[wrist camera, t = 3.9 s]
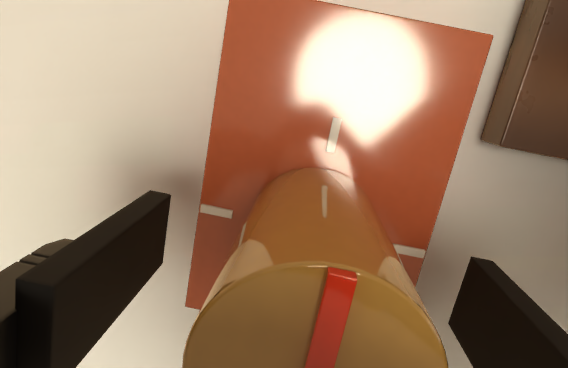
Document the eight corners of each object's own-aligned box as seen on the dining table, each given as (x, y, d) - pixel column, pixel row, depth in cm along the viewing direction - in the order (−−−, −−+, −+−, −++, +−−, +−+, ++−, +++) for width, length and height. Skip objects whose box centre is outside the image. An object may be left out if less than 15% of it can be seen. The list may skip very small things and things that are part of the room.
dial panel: (384, 314, 21) (396, 353, 18) (202, 276, 21) (183, 308, 18) (464, 43, 17) (496, 34, 14) (244, 0, 18) (230, -18, 15)
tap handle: (360, 300, 18) (411, 528, 9) (238, 275, 18) (161, 473, 9) (392, 181, 16) (495, 304, 7) (259, 155, 16) (195, 241, 7)
